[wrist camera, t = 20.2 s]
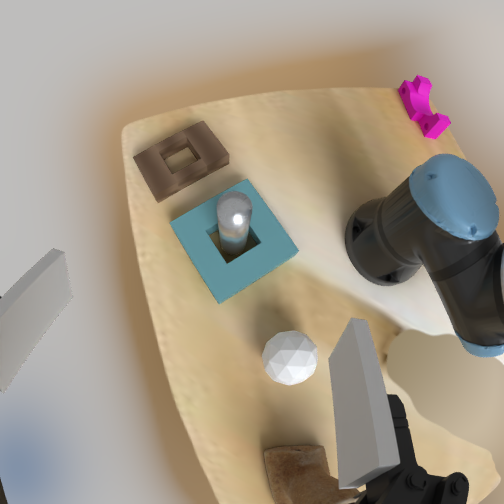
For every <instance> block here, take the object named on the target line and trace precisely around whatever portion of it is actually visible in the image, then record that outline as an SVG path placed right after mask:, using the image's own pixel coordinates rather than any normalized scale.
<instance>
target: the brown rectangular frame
mask: <svg viewBox="0 0 504 504" xmlns="http://www.w3.org/2000/svg"><path fill="white" fill-rule="evenodd" d="M187 147H189V148H190V150H191V151H192V152H193V154H194V155H195V157H196V158H197V160H198V161H196V162H194V163H192V164H190V165H188V166H186V167H185V168H183V169H181V170H179V171H177V172H176V173H174V174H172V173H171V171H170V170H169V168H168V167H167V165H166V163H165V162H164V159H166V158H168V157H170V156H172V155H173V154H175V153H177V152H179V151H181V150H183V149H185V148H187ZM133 158H134V160H135V162H136V164H137V166H138V168H139V170H140V171H141V173H142V175H143V177H144V179H145V181H146V182H147V184H148V186H149V188H150V190H151V192H152V193H153V195H154V197H155V199H156V200H157V202H158V203H159V202H161V201H163V200H164V199H166V198H168V197H169V196H171V195H173V194H175V193H176V192H178V191H180V190H182V189H183V188H185V187H187V186H189V185H190V184H192V183H194V182H196V181H198V180H199V179H201V178H203V177H205V176H207V175H209V174H210V173H212V172H214V171H216V170H218V169H220V168H222V167H224V166H226V165H227V164H229V153H228V152H227V151H226V149H225V148H224V147H223V146H222V144H221V143H220V142H219V140H218V139H217V138H216V136H215V135H214V134H213V132H212V131H211V130H210V129H209V127H208V126H207V125H206V123H205V122H204V121H201V122H199V123H197V124H195V125H193V126H191V127H189V128H187V129H185V130H183V131H181V132H179V133H177V134H175V135H173V136H171V137H169V138H167V139H165V140H163V141H161V142H159V143H158V144H156V145H154V146H152V147H150V148H148V149H147V150H145V151H143V152H141V153H140V154H138V155H136V156H134V157H133Z"/></svg>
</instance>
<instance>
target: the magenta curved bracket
mask: <svg viewBox="0 0 504 504" xmlns="http://www.w3.org/2000/svg"><path fill="white" fill-rule="evenodd" d="M431 87H432V84H431V83H430V81H429V79H428V78H425V77H422V76H419V75H417V76H416V78H415V79H414V81H413V82H410V81H406V80H404V82H403V83H402V85H401V86H400V88H399V89H398V92H399V94H400V96H401V98H402V101H403V103H404V105H405V107H406V110H407V112H408V114H409V117H410V119H411V120H413V121H418V122H419V124H420V127H421V129H422V132H423V134H424V137H428V138H432V139H436V138H437V137H438V136H439V135H440V134H441V133H442V132H443V131H444V130H445V129H446V128H447V127H448V126H449V125H450V124H451V122H450V120H449V118H448V116H445V115H442V114H439V113H436V114H435V115H433V113H432V112H431V109H430V106H429V93H430V89H431Z"/></svg>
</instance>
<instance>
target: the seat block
mask: <svg viewBox="0 0 504 504" xmlns="http://www.w3.org/2000/svg"><path fill="white" fill-rule="evenodd" d="M231 191H238V192H242V193H244V194H245V195H247V196H248V197H249V198H250V200H251V202H252V206H253V209H252V215H251V220H250V225H249V230H248V231H249V233H250V234H251V236H252V237H253V239H254V240H255V242H256V243H257V246H255V247H254V248H252V249H251V250H249V251H247V252H246V253H244V254H242V255H241V256H239V257H238V258H236V259H234V260H233V261H231V262H230V263H228V264H227V263H226V262H225V260H224V259H223V257H222V256H221V254H220V253H219V251H218V249H217V248H216V246H215V245H214V243H213V242H212V240H211V238H210V237H209V235H210V234H212V233H214V232H215V231H217V230H219V227H218V217H217V202H218V200H219V199H220V197H221V196H222V195H224V194H225V193H227V192H231ZM170 225H171V227H172V228H173V230H174V232H175V234H176V235H177V237H178V239H179V240H180V242H181V244H182V245H183V247H184V249H185V250H186V252H187V254H188V255H189V257H190V259H191V260H192V262H193V264H194V265H195V267H196V268H197V270H198V272H199V273H200V275H201V277H202V278H203V280H204V281H205V283H206V285H207V286H208V288H209V289H210V291H211V292H212V294H213V296H214V297H215V299H216V300H217V302H218V303H219V304H221V303H222V302H224V301H225V300H227V299H228V298H230V297H232V296H233V295H235V294H236V293H238V292H239V291H241V290H243V289H244V288H246V287H247V286H249V285H250V284H252V283H254V282H255V281H257V280H258V279H260V278H261V277H263V276H264V275H266V274H267V273H269V272H271V271H272V270H274V269H275V268H277V267H278V266H280V265H281V264H283V263H284V262H286V261H287V260H289V259H290V258H292V257H293V256H295V255H296V254H297V253H298V251H299V250H298V249H297V247H296V246H295V244H294V243H293V241H292V240H291V239H290V237H289V236H288V234H287V233H286V231H285V230H284V229H283V227H282V226H281V224H280V223H279V222H278V220H277V219H276V217H275V216H274V215H273V213H272V212H271V210H270V209H269V208H268V206H267V205H266V203H265V202H264V201H263V199H262V198H261V197H260V195H259V194H258V192H257V191H256V190H255V188H254V187H253V186H252V184H251V183H250V182H249V180H248V179H246V180H244V181H242V182H240V183H238V184H236V185H234V186H233V187H231V188H229V189H227V190H225V191H224V192H222V193H220V194H218V195H216V196H215V197H213V198H211V199H209V200H208V201H206V202H204V203H202V204H201V205H199V206H197V207H195V208H194V209H192V210H190V211H189V212H187V213H185V214H183V215H182V216H180V217H178V218H177V219H175V220H173V221H172V222H170Z"/></svg>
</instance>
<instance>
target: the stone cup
mask: <svg viewBox="0 0 504 504" xmlns="http://www.w3.org/2000/svg"><path fill="white" fill-rule="evenodd" d="M264 459H265V465H266V471H267V475H268V478H269V483H270V488H271V491H272V495H273V498H274V501H275V504H354V503H355V502H356V501H357V500H358V498H359V497H358V498H356V499H354V498H353V497H354V496H355V495H356V494H358V493H360V492H359V491H358V490H357V489H356V488H350V489H339V480H338V479H336V478H334V477H332V476H330V472H329V467H328V462H327V458H326V453H325V448H324V446H321V445H319V446H311V445H307V446H303V445H302V446H298V445H297V446H282V447H275V448H271V449H266V450H265V451H264Z"/></svg>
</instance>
